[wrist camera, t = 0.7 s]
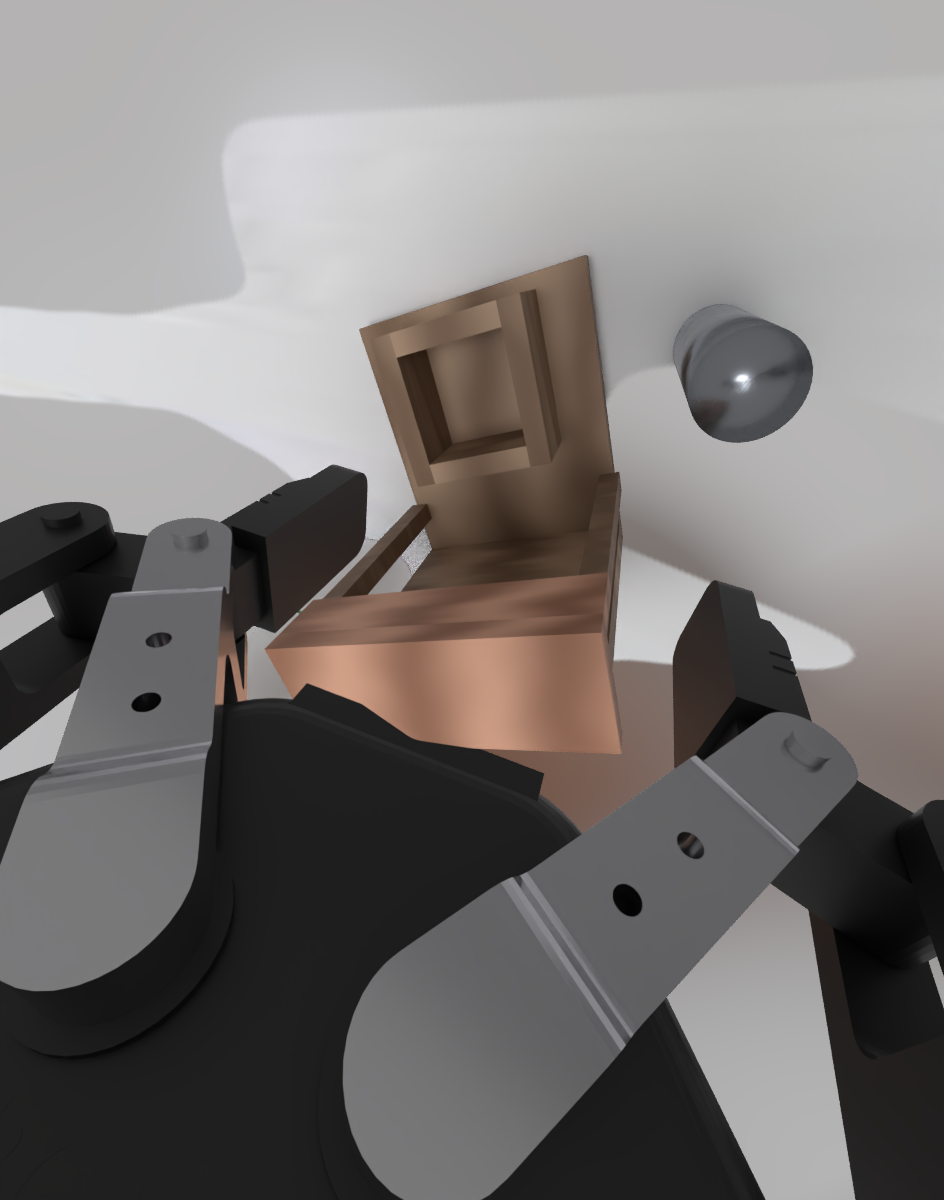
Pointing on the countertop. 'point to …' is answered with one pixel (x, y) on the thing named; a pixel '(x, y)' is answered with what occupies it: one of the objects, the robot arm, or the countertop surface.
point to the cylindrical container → (260, 668)
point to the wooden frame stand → (486, 531)
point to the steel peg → (741, 373)
